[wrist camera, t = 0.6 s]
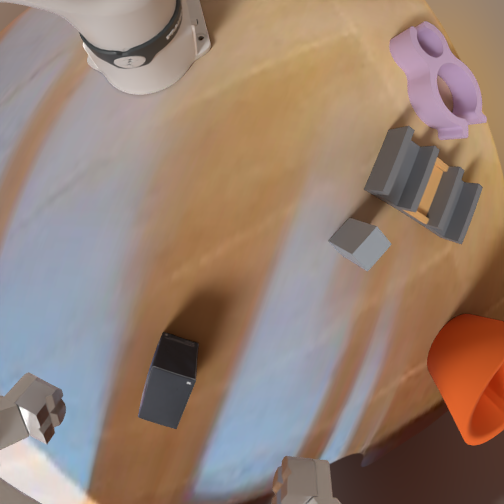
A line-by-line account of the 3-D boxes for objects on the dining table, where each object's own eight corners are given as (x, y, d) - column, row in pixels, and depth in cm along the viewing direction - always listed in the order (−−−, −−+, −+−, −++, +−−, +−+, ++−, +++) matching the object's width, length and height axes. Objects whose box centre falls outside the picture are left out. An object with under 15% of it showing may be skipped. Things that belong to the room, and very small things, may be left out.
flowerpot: (389, 384, 58) (439, 445, 39) (452, 276, 54) (524, 312, 35) (452, 400, 63) (497, 444, 44) (504, 313, 60) (560, 344, 41)
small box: (160, 329, 49) (151, 364, 39) (199, 342, 51) (198, 379, 40) (145, 379, 51) (135, 418, 41) (181, 390, 52) (178, 430, 42)
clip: (374, 47, 43) (394, 33, 37) (417, 28, 43) (438, 16, 36) (432, 146, 48) (457, 145, 42) (469, 119, 48) (493, 116, 41)
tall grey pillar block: (328, 241, 49) (352, 254, 41) (349, 217, 49) (376, 226, 40) (342, 255, 50) (367, 271, 42) (362, 232, 50) (391, 244, 41)
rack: (363, 189, 48) (382, 191, 42) (388, 130, 47) (408, 125, 41) (440, 237, 52) (461, 244, 46) (461, 184, 51) (482, 187, 45)
